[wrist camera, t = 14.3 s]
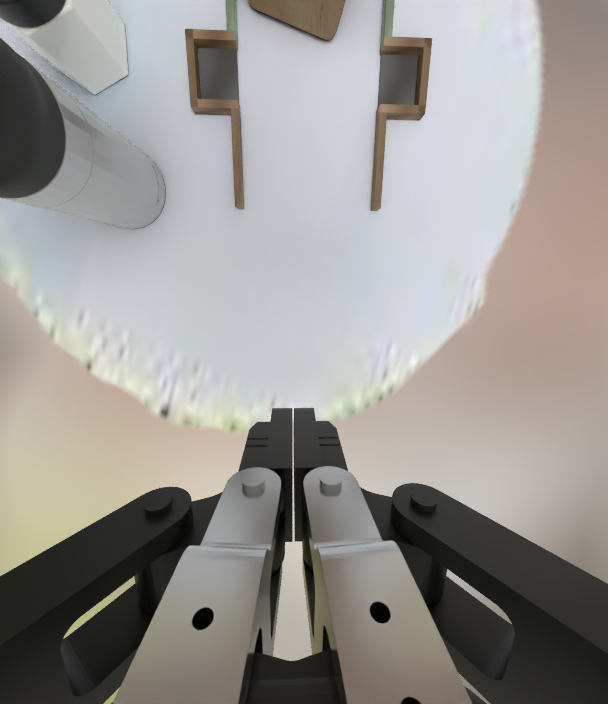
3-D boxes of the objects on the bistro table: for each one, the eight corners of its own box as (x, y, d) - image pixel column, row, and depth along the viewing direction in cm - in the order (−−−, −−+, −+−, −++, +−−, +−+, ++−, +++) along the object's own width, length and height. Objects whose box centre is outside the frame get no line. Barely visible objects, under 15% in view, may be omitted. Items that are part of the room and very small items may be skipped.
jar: (45, -8, 32) (-92, -162, 21) (125, 0, 33) (34, -146, 21) (57, 92, 35) (-60, 3, 23) (132, 99, 35) (53, 15, 24)
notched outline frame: (201, 207, 38) (198, 205, 37) (178, -119, 31) (172, -139, 29) (411, 211, 39) (416, 208, 38) (439, -104, 32) (447, -123, 30)
